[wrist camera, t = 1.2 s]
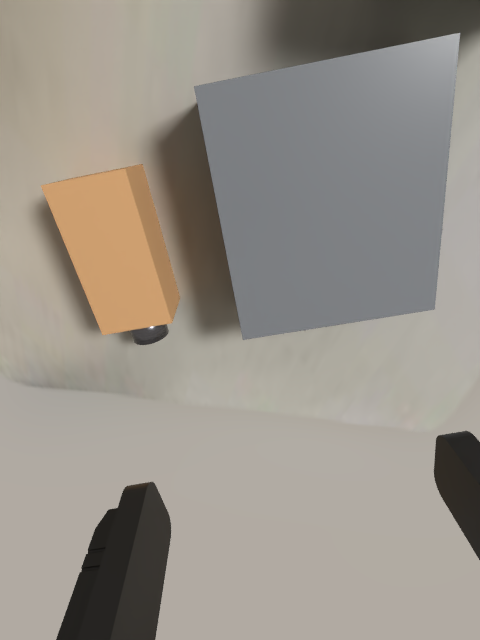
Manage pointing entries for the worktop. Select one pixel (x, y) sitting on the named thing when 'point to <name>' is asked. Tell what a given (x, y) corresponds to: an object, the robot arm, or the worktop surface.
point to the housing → (117, 250)
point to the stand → (333, 184)
